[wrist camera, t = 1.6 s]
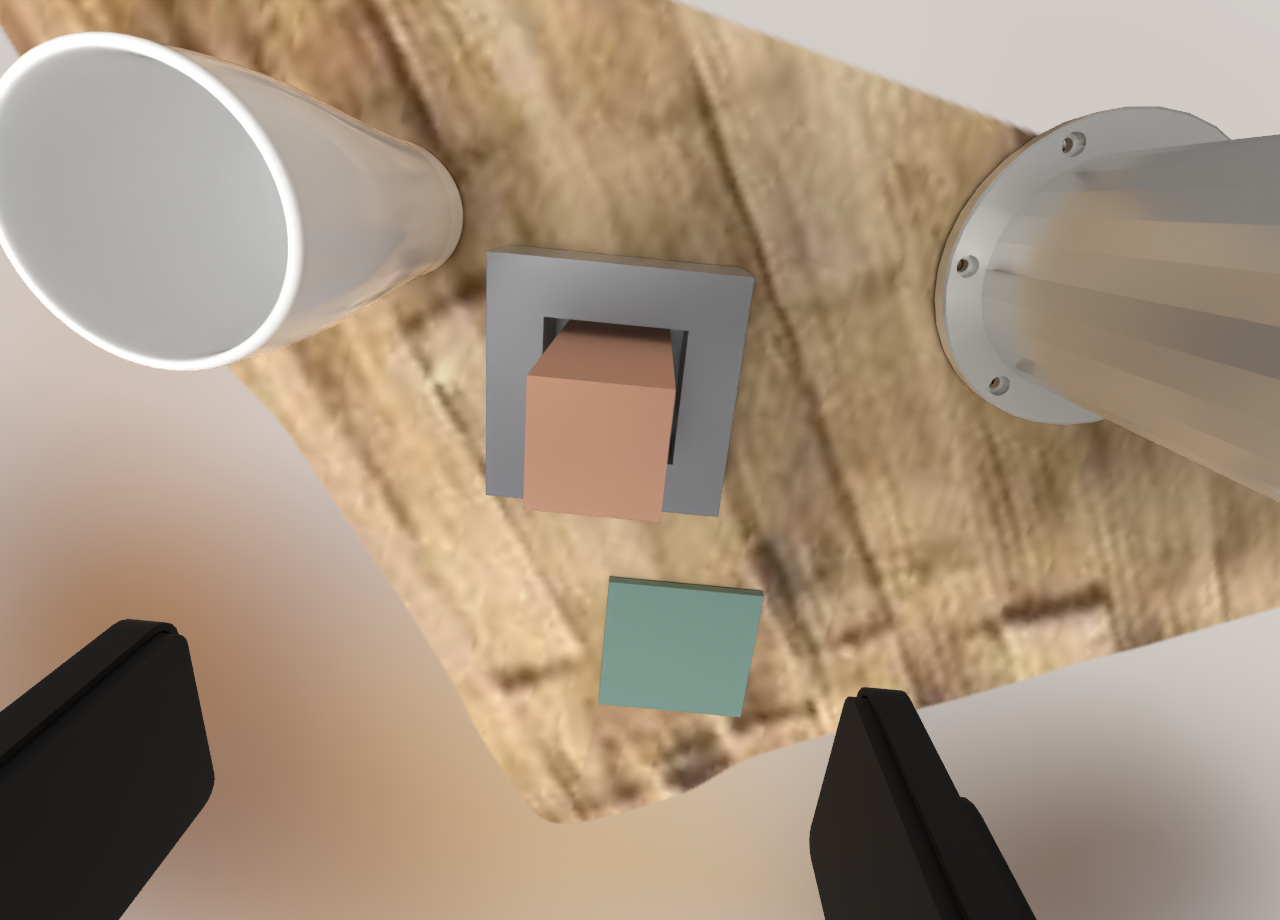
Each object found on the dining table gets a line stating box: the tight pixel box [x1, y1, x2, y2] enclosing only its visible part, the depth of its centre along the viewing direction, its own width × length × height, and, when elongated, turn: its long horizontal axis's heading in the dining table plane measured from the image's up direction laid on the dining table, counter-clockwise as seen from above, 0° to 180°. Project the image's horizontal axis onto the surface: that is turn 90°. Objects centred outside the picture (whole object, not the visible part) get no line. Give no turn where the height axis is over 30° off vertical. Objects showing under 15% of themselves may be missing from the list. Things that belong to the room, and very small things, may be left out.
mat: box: [599, 577, 764, 717], centre depth 35 cm, size 8×8×1 cm
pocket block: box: [486, 245, 754, 517], centre depth 28 cm, size 10×10×4 cm
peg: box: [523, 319, 676, 522], centre depth 24 cm, size 4×4×10 cm
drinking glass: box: [0, 31, 463, 371], centre depth 20 cm, size 7×7×15 cm
